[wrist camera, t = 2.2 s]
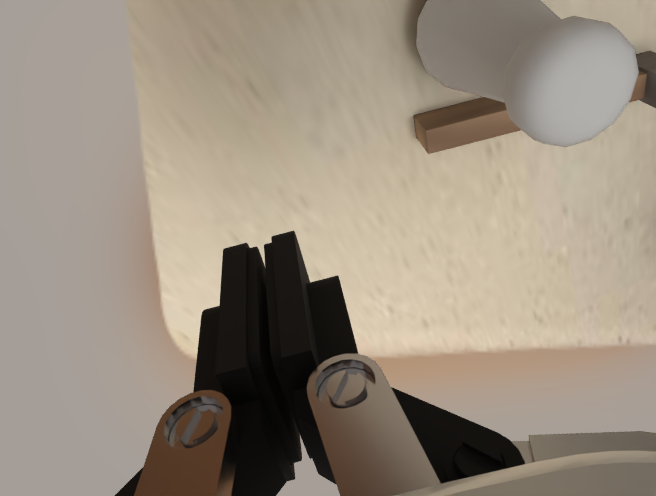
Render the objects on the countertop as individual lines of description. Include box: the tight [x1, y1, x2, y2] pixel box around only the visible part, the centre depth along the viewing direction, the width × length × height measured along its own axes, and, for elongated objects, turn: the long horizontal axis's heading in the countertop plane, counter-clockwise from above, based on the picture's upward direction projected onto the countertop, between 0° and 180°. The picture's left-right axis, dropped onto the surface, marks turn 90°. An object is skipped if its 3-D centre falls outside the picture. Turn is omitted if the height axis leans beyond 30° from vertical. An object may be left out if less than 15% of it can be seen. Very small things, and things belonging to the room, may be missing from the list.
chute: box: [414, 51, 656, 154], centre depth 26 cm, size 12×14×5 cm
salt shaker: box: [416, 0, 639, 147], centre depth 23 cm, size 6×6×13 cm
